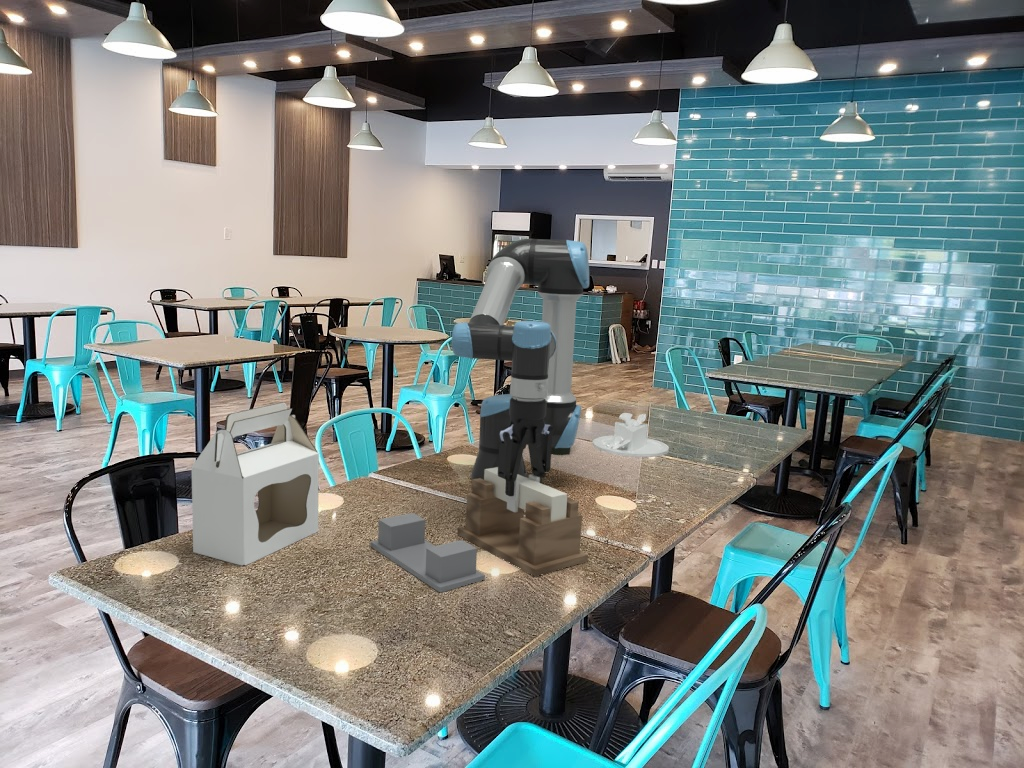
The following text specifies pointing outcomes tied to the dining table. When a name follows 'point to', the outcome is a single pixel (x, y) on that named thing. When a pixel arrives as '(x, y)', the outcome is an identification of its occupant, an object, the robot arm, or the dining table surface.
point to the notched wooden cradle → (523, 531)
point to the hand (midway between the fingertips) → (522, 507)
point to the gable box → (255, 488)
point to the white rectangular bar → (530, 493)
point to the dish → (630, 439)
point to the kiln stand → (426, 553)
